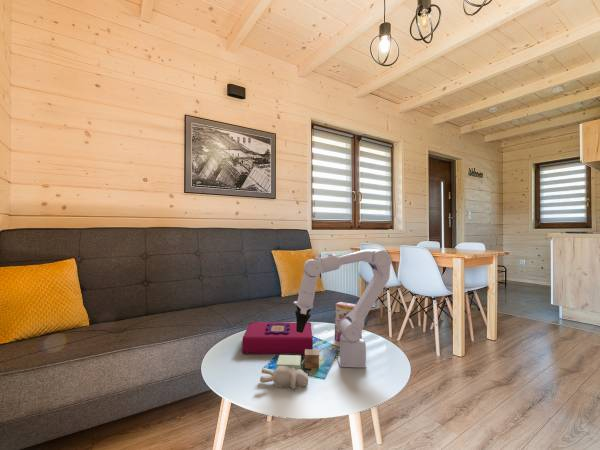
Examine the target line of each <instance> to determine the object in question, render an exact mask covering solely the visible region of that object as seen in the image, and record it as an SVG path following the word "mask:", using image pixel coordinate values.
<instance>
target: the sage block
mask: <svg viewBox="0 0 600 450" xmlns="http://www.w3.org/2000/svg"><path fill="white" fill-rule="evenodd" d="M278 366H287V367H289V368H295V370H297V369H300V368H301V369H302V355H300V354H278V358H277V361H276V368H277V367H278Z"/></svg>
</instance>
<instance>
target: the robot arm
mask: <svg viewBox="0 0 600 450" xmlns="http://www.w3.org/2000/svg"><path fill="white" fill-rule="evenodd" d="M357 262H358V263H359V262H365V263H367V264H368V265H369V266H370V267H371V268H370V269H371V271H372V274H373V276H372V278H371V280H370V281H369V283H368V285H367V286H366V288H365V289H364V291H363V292H362V294H361V295H360V297H359V298H358V299H359V300H358V301H357V303H355V304H356V305H355V307H354V309H353V310H352V311H351V312H349V313H348V314H347V315H346V317H344V318H343V319H342V320H341V321H340V322H339V329H340V331H341V336H340V341H339V356H337V360H338V361H337V362H338V365H339V368H364V369H365V368H367V364H366V363H367V346H366V340H365V339H364V338H362V339H360V337H361V334H362V335H363V329H364V327H365V320H366V317H367V316H368V314H369V312H370V311H371V310H372V307H373V306H374V305H375V303H376V301H377V299H378V298H379V296H380V295H381V292H382V291H383V290H384V288H385V286H386V285H387V283H388V282H389V280H390V274H391V265H392V263H393V261H392V259H391V255H390V254H389V252H388V251H386V250H384V249H383V250H382V249H377V248H370V249H369V248H368V249H362V250H359V251H355V252H351V253H347V254H344V255H340V256H338V255H337V254H333V253H328V254H327V255H326V256H320V257H319V256H316V257H315V259H313V258H310V259H307V260H305V262H304V264H302V269H303V274H302V277H301V282H300V286H299V291H298V297H297V300H296V301H293V304H294V305H296V310H295V312H294V314H295V318H296V322H297V325H296V331H297V332H300V333H302V332H303V330H304V328H305V325H306V323H307V322H309V321H308V320H309V319H310V318H311V317H312V314H310V312H311V311H312V309H313V307H314V301H315V300H314V299H315V297H316V296H315V295H316V294H315V293H316V291H317V284H318V278H319V276H320V275H321V274H324V273H330V272H332V271H333V272H334V271H337V270H339V269H340V268H341V266H344V265H347V264H348V265H349V264H353V263H357Z"/></svg>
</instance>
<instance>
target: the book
mask: <svg viewBox="0 0 600 450" xmlns="http://www.w3.org/2000/svg"><path fill="white" fill-rule="evenodd" d="M296 325H297V321H289V322H288V321H285V322H284V321H274V322H273V321H250V322H248V326H247V328H246V330H245V332H244V333H243V336H242V339H241V340H242V341H241V342H242V344H241V350H242V351H241V353H242V354H244V355H247V354H249V355H250V354H251V355H252V354H253V355H259V354H260V355H268V354H269V355H305V349H314V347H313V346H314V345H313V344H314V340H313V339H314V338H313V332H312V330H313V329H312V323H311V322H309V321H307V323H306V325H305V328H304V330H303V332H302V333H300V332H297V331H296Z"/></svg>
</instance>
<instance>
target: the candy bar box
mask: <svg viewBox="0 0 600 450" xmlns="http://www.w3.org/2000/svg"><path fill="white" fill-rule="evenodd" d="M356 304H357V303H355V304H354V303H349V302H342V301H339V302H336V303H335V304H334V340H335V341H338V342H340V336H341V331H340V329H339V322H340V321H341V320H342V319H343V318H344V317H346V315H347V314H348V313H349V312H351V311H352V310H353V309H354V307H355V305H356ZM362 335H363V333H362V334H361V337H360V339H363V338H362V337H363V336H362Z"/></svg>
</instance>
